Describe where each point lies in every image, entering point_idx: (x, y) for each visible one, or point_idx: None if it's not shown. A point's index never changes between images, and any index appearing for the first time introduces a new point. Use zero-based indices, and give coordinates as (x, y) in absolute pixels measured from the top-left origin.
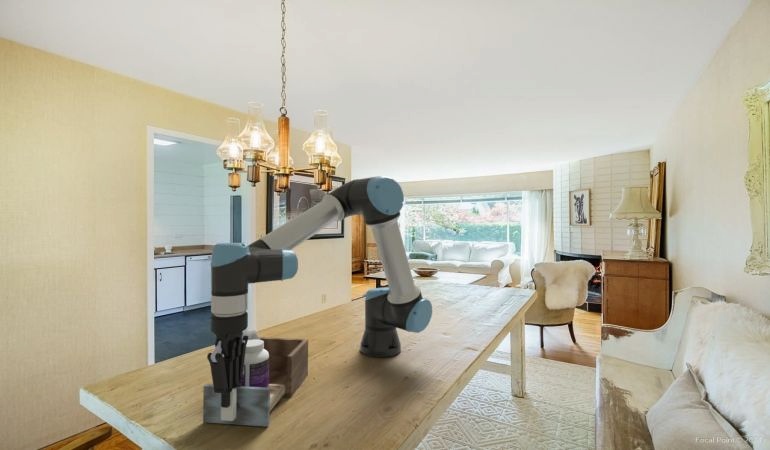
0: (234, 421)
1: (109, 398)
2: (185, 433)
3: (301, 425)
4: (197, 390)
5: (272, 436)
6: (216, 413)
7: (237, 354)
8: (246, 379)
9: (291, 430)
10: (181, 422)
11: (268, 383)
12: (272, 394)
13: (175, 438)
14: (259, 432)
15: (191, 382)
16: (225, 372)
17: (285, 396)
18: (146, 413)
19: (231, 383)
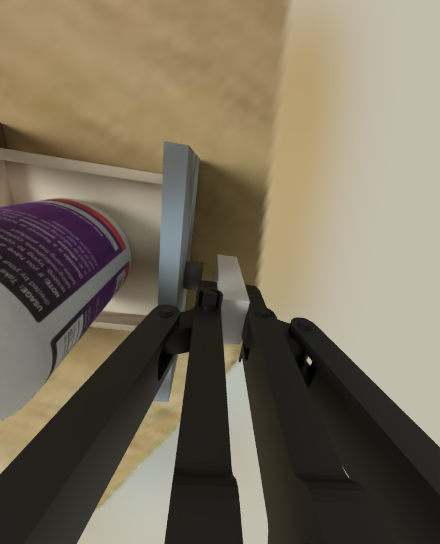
0: (189, 259)
1: (117, 479)
2: None
3: (182, 26)
4: (52, 388)
5: (242, 129)
6: (183, 311)
7: (237, 518)
8: (92, 291)
9: (213, 65)
10: (181, 360)
11: (26, 203)
12: (34, 190)
13: (235, 346)
14: (221, 177)
15: (22, 411)
16: (373, 415)
17: (4, 148)
18: (156, 420)
19: (265, 329)
